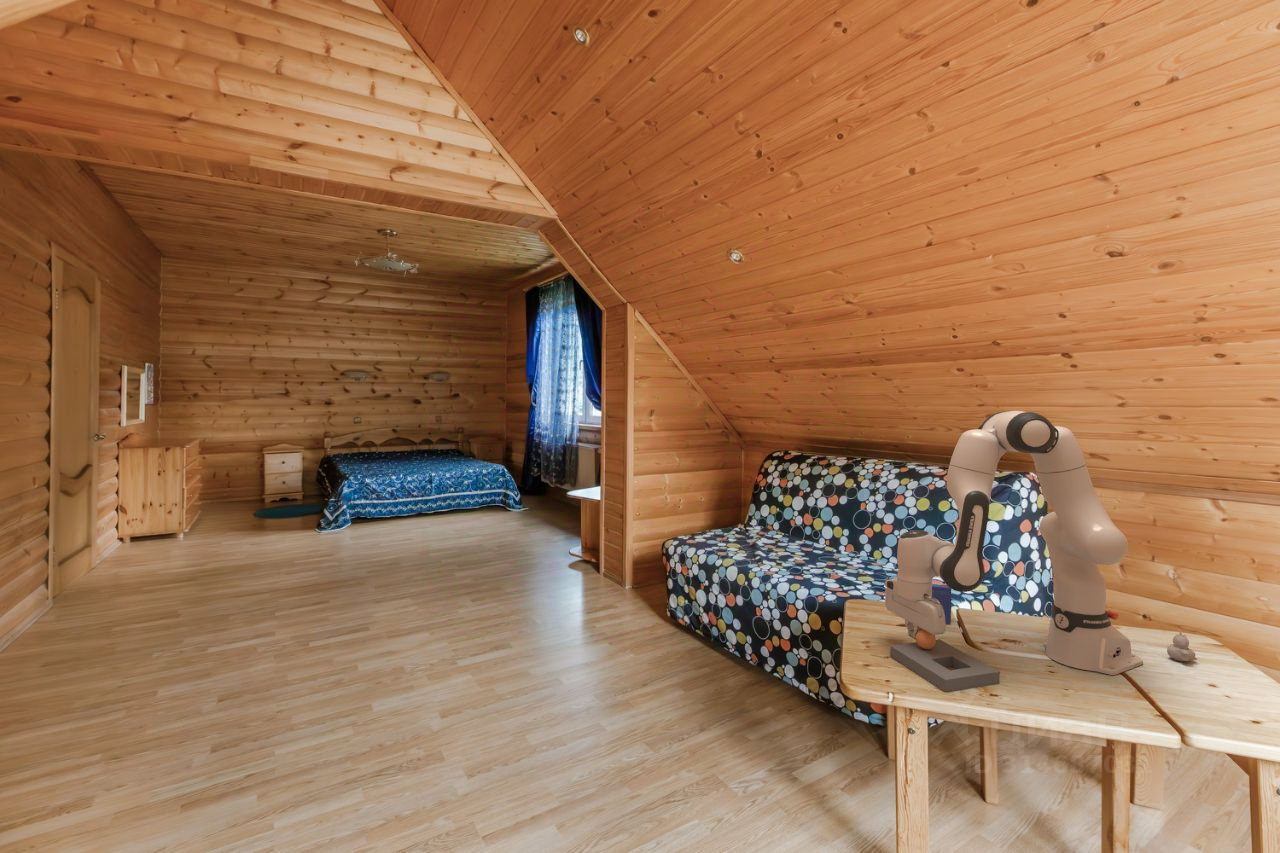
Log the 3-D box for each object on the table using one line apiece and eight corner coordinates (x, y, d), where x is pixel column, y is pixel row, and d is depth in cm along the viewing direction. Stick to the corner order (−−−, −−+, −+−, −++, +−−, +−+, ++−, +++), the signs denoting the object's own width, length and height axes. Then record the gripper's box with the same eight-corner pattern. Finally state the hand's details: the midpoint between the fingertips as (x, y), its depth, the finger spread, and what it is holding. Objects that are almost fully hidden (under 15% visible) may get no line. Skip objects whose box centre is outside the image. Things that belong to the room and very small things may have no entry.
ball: (926, 643, 159) (926, 625, 159) (940, 651, 154) (940, 632, 154) (911, 645, 158) (911, 627, 157) (924, 653, 153) (924, 635, 153)
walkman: (949, 621, 182) (949, 584, 181) (950, 624, 179) (951, 587, 179) (921, 618, 184) (922, 582, 184) (922, 621, 182) (923, 584, 181)
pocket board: (939, 649, 162) (939, 639, 162) (999, 683, 142) (999, 671, 142) (890, 656, 158) (890, 645, 158) (945, 692, 139) (945, 679, 138)
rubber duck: (1188, 657, 155) (1189, 628, 155) (1200, 668, 149) (1201, 638, 149) (1162, 654, 157) (1163, 625, 157) (1173, 664, 151) (1174, 634, 151)
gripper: (952, 600, 150) (951, 652, 151) (899, 577, 170) (899, 623, 171) (931, 602, 149) (931, 655, 150) (881, 579, 169) (881, 625, 169)
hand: (913, 637), depth 160 cm, fingers closed
